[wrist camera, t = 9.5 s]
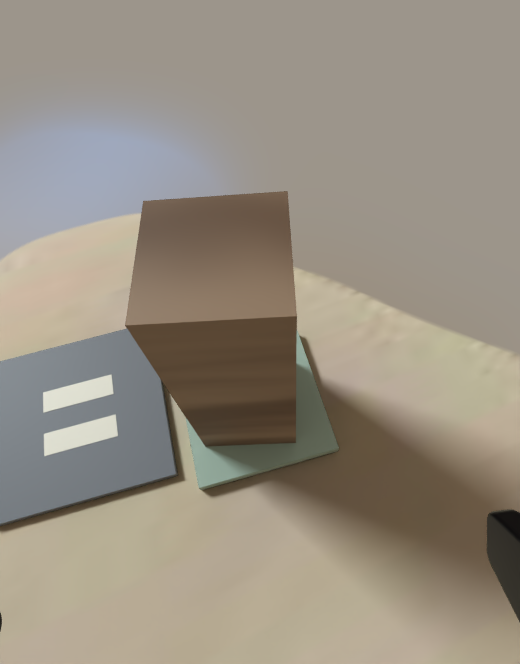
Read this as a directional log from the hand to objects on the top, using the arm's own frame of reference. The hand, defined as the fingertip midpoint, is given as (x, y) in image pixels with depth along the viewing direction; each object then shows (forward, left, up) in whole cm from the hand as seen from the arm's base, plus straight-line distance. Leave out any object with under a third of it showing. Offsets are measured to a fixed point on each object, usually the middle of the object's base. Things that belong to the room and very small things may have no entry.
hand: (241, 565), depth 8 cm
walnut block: (+8, -1, -13) cm, 15 cm away
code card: (+10, +8, -13) cm, 18 cm away
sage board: (+8, -1, -13) cm, 16 cm away
